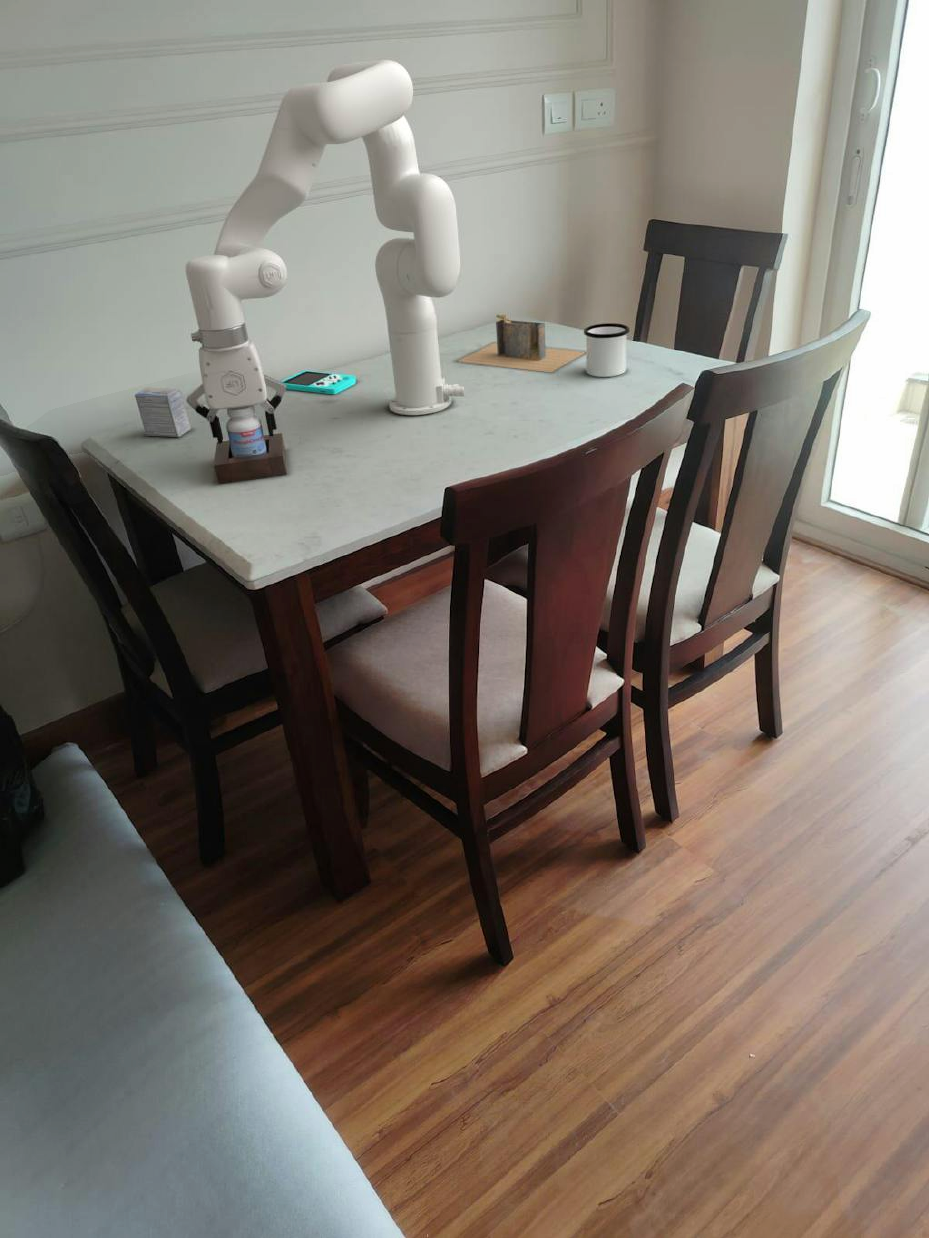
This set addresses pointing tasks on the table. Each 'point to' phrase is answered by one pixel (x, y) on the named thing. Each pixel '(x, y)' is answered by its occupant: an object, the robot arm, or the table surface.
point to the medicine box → (162, 412)
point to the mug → (606, 349)
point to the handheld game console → (319, 382)
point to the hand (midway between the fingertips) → (246, 437)
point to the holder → (250, 462)
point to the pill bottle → (245, 432)
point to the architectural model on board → (521, 348)
